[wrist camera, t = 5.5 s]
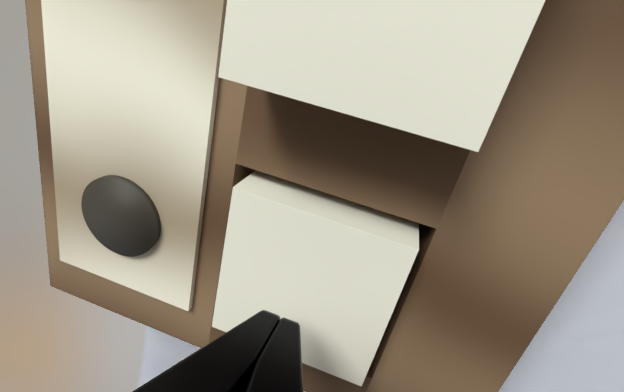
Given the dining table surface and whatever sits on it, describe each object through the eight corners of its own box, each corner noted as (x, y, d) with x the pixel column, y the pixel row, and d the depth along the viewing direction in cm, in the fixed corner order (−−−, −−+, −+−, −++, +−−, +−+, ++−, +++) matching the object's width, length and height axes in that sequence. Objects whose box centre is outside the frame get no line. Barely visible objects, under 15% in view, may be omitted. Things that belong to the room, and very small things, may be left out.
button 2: (373, 313, 12) (361, 386, 10) (254, 269, 13) (211, 326, 10) (418, 199, 11) (419, 249, 8) (277, 154, 11) (233, 187, 9)
